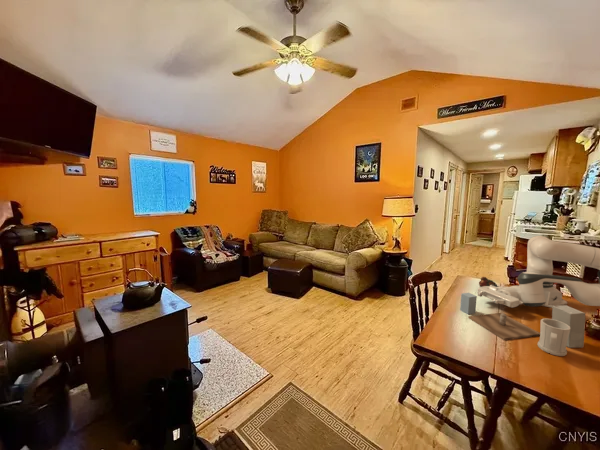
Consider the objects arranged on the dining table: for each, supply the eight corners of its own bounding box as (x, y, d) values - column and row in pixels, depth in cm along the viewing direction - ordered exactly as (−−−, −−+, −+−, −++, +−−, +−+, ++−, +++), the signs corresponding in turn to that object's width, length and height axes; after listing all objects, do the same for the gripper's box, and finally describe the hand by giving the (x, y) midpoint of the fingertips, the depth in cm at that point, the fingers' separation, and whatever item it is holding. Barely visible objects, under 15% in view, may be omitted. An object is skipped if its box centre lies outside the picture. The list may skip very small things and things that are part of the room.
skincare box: (583, 348, 107) (589, 313, 105) (566, 348, 107) (571, 313, 105) (563, 336, 115) (568, 304, 113) (547, 336, 115) (552, 304, 113)
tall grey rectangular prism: (467, 309, 143) (468, 292, 141) (475, 313, 138) (476, 296, 136) (460, 310, 141) (461, 293, 140) (467, 314, 137) (469, 297, 135)
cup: (576, 360, 100) (580, 333, 98) (549, 358, 101) (553, 330, 100) (555, 344, 110) (559, 319, 108) (531, 342, 112) (534, 317, 110)
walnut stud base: (500, 314, 136) (502, 302, 135) (540, 335, 116) (542, 322, 115) (468, 317, 133) (469, 306, 132) (503, 340, 113) (505, 326, 112)
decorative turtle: (487, 286, 173) (489, 275, 172) (502, 297, 159) (504, 285, 157) (472, 285, 174) (474, 274, 173) (486, 296, 160) (488, 284, 158)
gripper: (524, 308, 135) (504, 312, 131) (488, 293, 154) (470, 296, 151) (526, 297, 134) (506, 300, 130) (489, 283, 153) (471, 286, 150)
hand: (486, 298), depth 141 cm, fingers open, 8 cm apart
